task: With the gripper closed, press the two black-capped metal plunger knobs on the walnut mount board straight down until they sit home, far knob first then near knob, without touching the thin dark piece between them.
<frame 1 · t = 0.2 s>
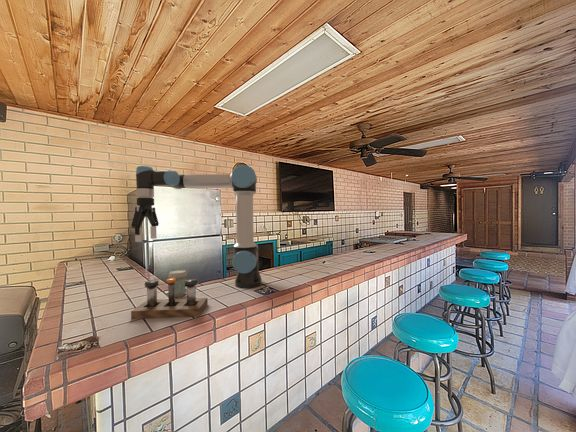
hand: (146, 240, 119), 28 cm above the counter, fingers open, 13 cm apart
mount board: (172, 311, 99), on the counter
knob far: (151, 293, 99), point 8 cm above the counter, slide at 3.0 cm
dark piece: (171, 291, 99), point 8 cm above the counter, slide at 3.0 cm
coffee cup: (178, 296, 118), on the counter
knob near: (191, 292, 99), point 8 cm above the counter, slide at 3.0 cm
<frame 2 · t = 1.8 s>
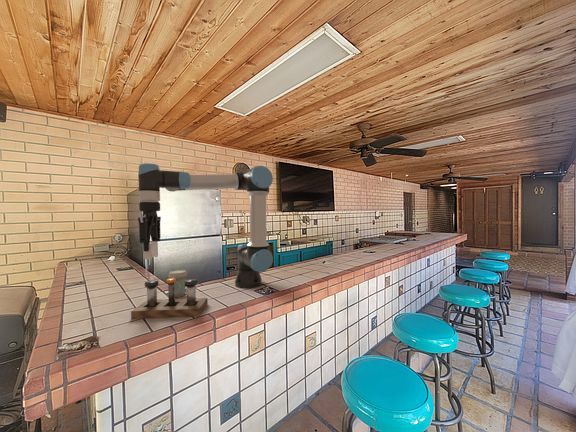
hand: (151, 257, 98), 23 cm above the counter, fingers open, 4 cm apart
nothing on the counter moved.
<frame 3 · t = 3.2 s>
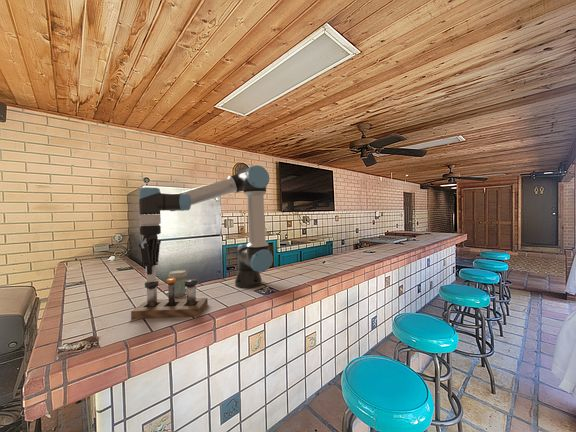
hand: (151, 281, 98), 13 cm above the counter, fingers closed
knob far: (151, 293, 99), point 8 cm above the counter, slide at 2.9 cm, touching gripper
everything else where it was.
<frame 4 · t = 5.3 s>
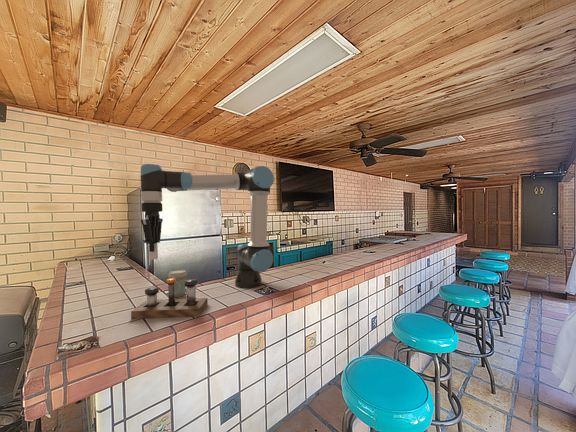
hand: (153, 258, 99), 22 cm above the counter, fingers closed
knob far: (152, 300, 99), point 5 cm above the counter, slide at 0.0 cm
everything else where it was.
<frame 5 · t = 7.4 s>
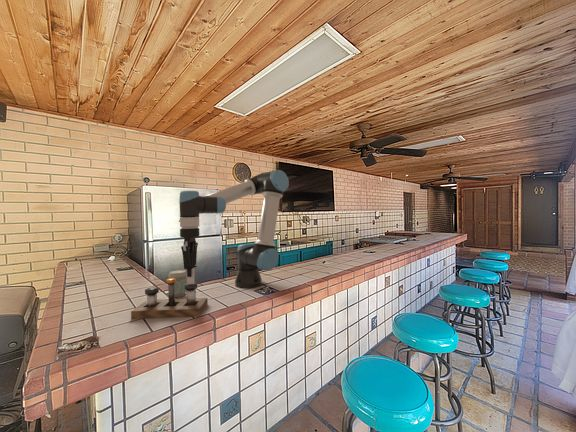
hand: (190, 283, 99), 11 cm above the counter, fingers closed
knob near: (191, 295, 100), point 6 cm above the counter, slide at 1.5 cm, touching gripper
everything else where it was.
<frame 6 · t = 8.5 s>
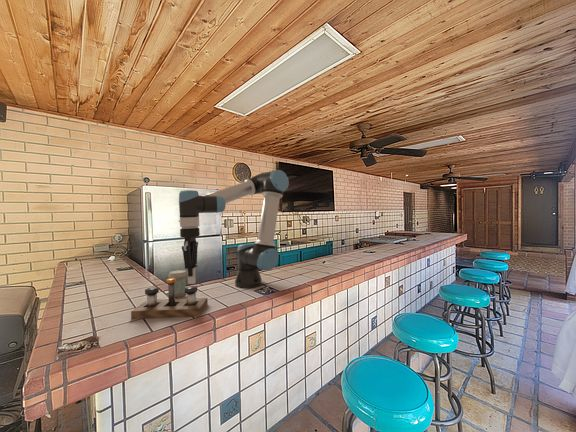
hand: (191, 283, 100), 11 cm above the counter, fingers closed
knob near: (191, 299, 100), point 5 cm above the counter, slide at 0.0 cm
everything else where it was.
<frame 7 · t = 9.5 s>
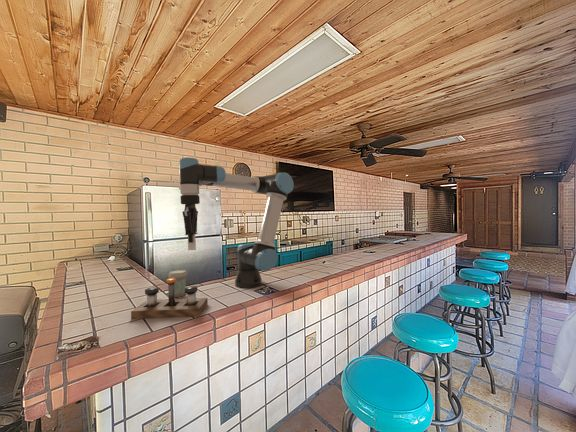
hand: (192, 249, 102), 25 cm above the counter, fingers closed
nothing on the counter moved.
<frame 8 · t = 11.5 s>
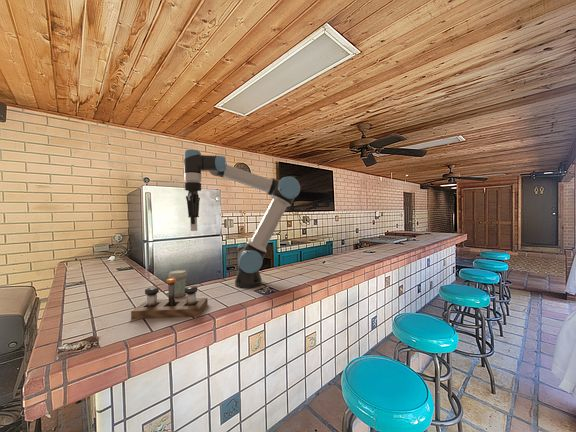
hand: (194, 230, 116), 32 cm above the counter, fingers closed
nothing on the counter moved.
at the end: knob far slide at 0.0 cm; knob near slide at 0.0 cm; dark piece slide at 3.0 cm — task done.
